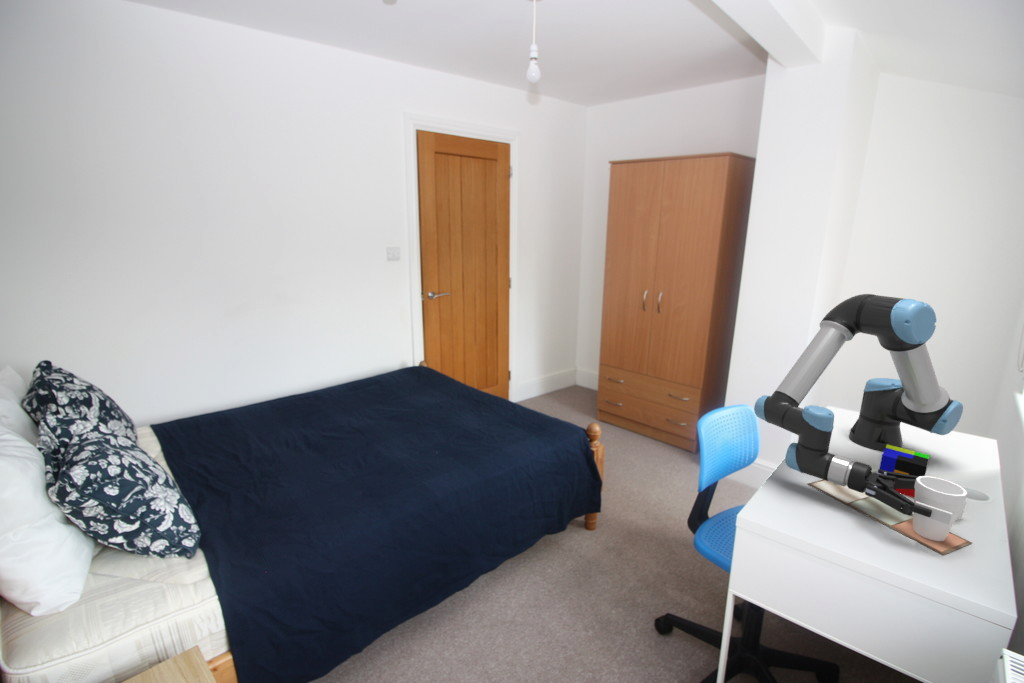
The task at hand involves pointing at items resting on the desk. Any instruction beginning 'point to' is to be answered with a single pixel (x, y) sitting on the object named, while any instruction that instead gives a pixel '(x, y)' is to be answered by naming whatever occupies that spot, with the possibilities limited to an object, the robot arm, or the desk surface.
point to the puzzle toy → (904, 464)
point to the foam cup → (937, 505)
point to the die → (961, 512)
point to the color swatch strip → (887, 516)
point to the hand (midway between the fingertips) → (954, 508)
